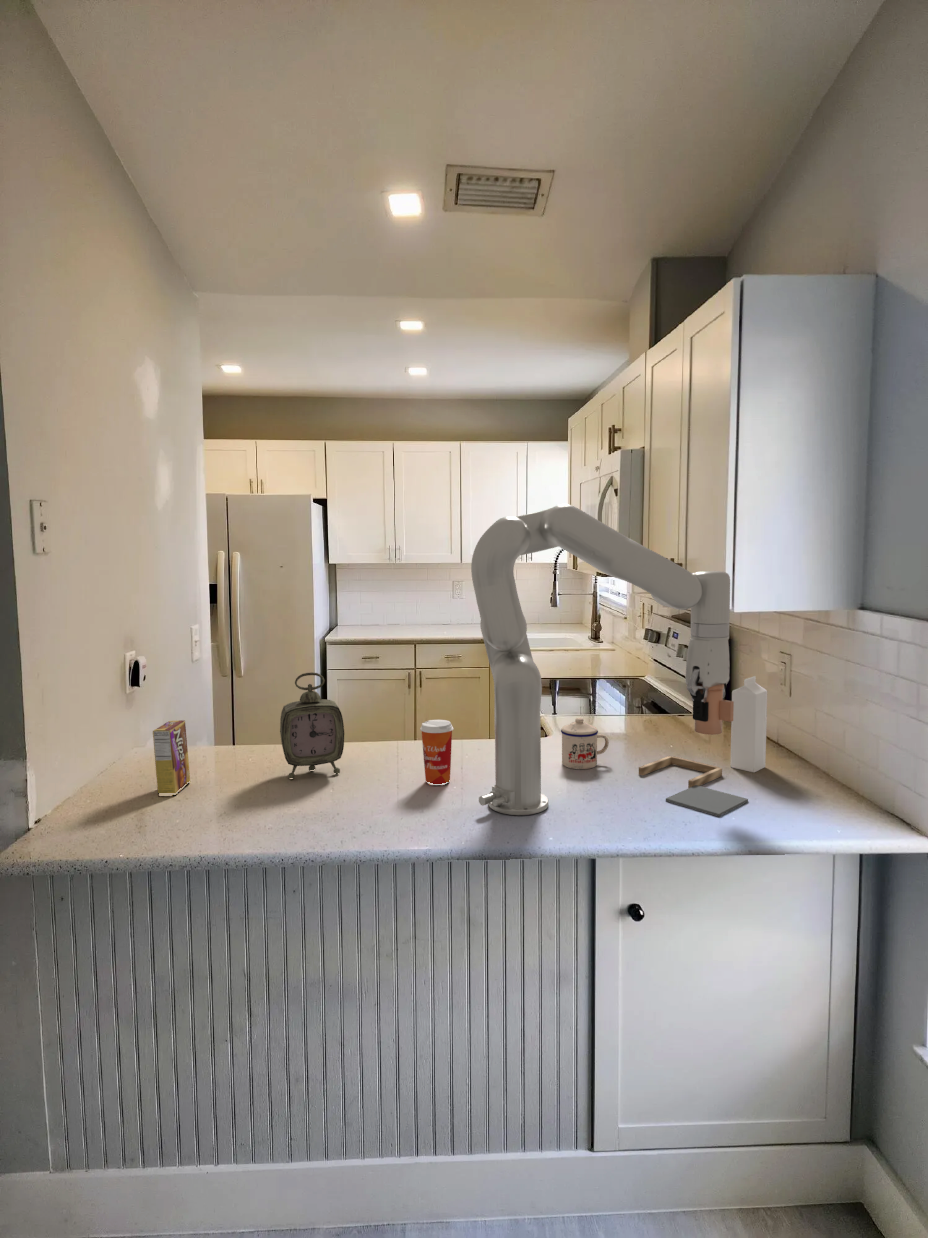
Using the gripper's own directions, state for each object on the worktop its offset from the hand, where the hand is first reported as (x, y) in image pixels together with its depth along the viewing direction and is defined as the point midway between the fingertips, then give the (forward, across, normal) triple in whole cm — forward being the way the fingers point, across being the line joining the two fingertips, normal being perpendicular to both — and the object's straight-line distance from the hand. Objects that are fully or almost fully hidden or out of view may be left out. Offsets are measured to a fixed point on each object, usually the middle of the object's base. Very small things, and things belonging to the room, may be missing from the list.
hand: (708, 717), depth 144 cm
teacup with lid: (+18, -2, -34) cm, 39 cm away
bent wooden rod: (+18, -11, -13) cm, 25 cm away
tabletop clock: (+18, +51, -75) cm, 93 cm away
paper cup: (+18, +33, -49) cm, 62 cm away
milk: (+18, -28, -5) cm, 34 cm away
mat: (+18, 0, 0) cm, 18 cm away
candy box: (+18, +80, -87) cm, 120 cm away
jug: (+3, 0, +1) cm, 3 cm away
